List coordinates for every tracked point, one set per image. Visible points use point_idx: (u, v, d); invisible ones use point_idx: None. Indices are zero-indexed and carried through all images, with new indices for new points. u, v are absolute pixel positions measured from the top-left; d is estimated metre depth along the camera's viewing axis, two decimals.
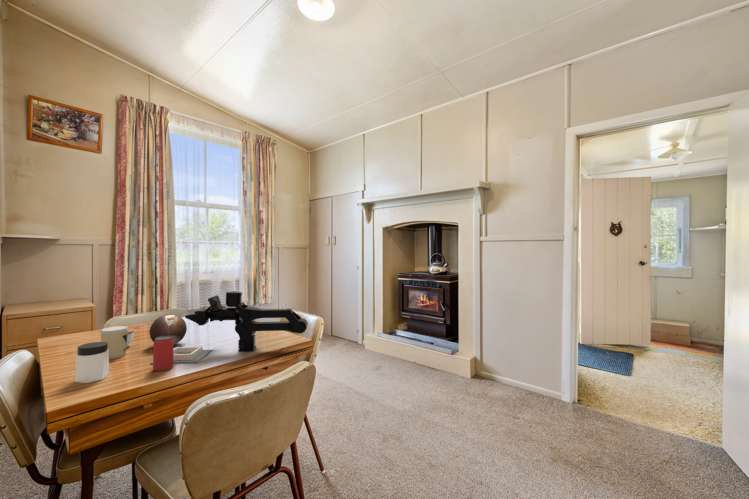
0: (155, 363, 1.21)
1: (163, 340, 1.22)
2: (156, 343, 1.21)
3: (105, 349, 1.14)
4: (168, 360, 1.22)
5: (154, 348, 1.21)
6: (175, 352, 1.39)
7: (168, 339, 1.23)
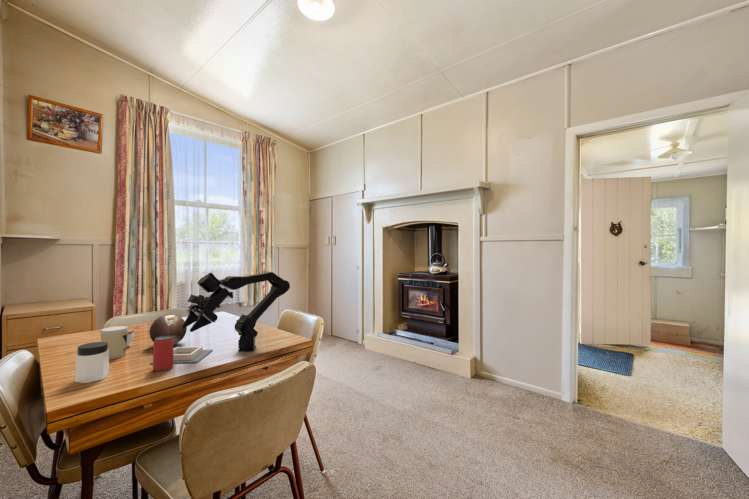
0: (155, 363, 1.21)
1: (163, 340, 1.22)
2: (156, 343, 1.21)
3: (105, 349, 1.14)
4: (168, 360, 1.22)
5: (154, 348, 1.21)
6: (175, 352, 1.39)
7: (168, 339, 1.23)
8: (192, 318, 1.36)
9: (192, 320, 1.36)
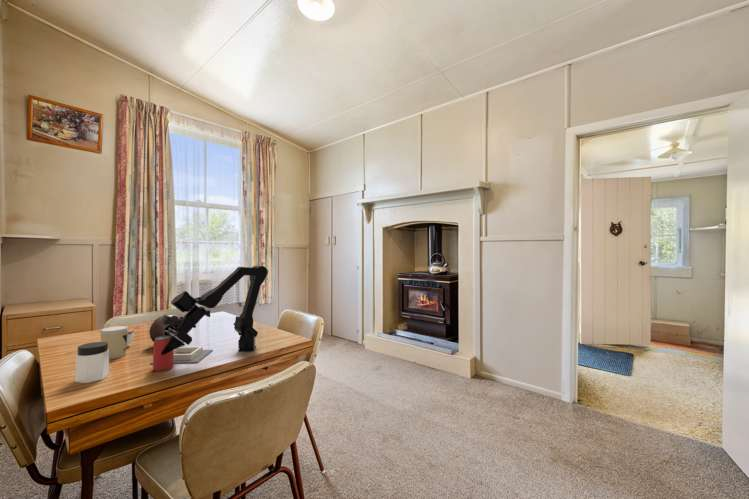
0: (155, 363, 1.21)
1: (163, 340, 1.22)
2: (156, 343, 1.21)
3: (105, 349, 1.14)
4: (168, 360, 1.22)
5: (154, 348, 1.21)
6: (175, 352, 1.39)
7: (168, 339, 1.23)
8: None
9: None
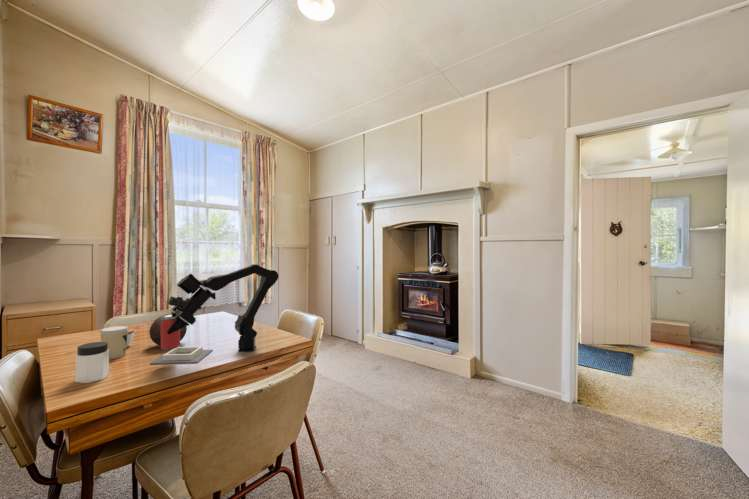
0: (162, 342, 1.26)
1: (169, 320, 1.26)
2: (162, 323, 1.26)
3: (105, 349, 1.14)
4: (174, 339, 1.27)
5: (161, 327, 1.26)
6: (175, 352, 1.39)
7: (174, 319, 1.27)
8: None
9: None
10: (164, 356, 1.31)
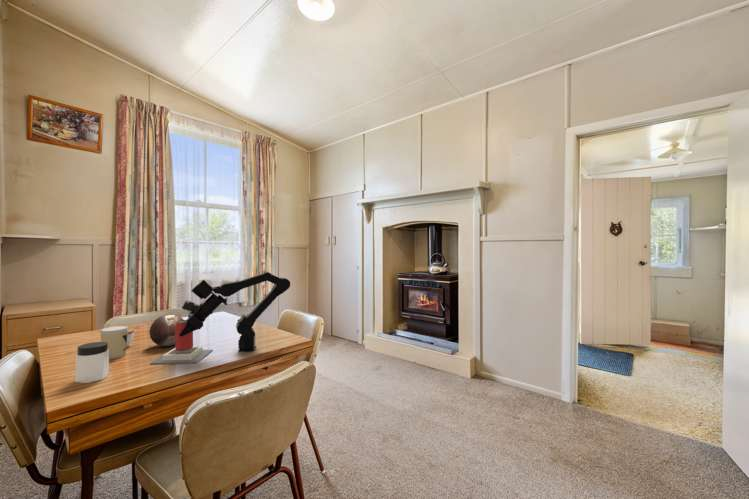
0: (175, 343, 1.34)
1: (181, 323, 1.34)
2: (176, 325, 1.34)
3: (105, 349, 1.14)
4: (186, 341, 1.35)
5: (175, 330, 1.35)
6: (175, 352, 1.39)
7: (186, 323, 1.35)
8: None
9: None
10: (164, 356, 1.31)
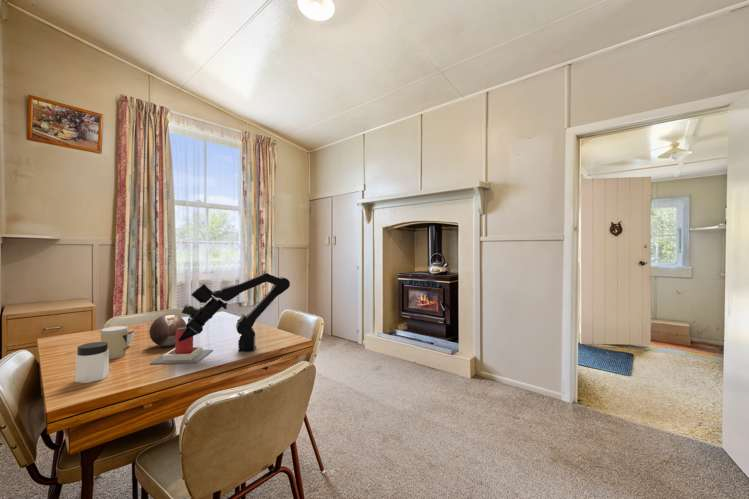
0: (175, 349, 1.34)
1: (182, 329, 1.35)
2: (177, 332, 1.35)
3: (105, 349, 1.14)
4: (186, 348, 1.35)
5: (176, 336, 1.35)
6: None
7: None
8: None
9: None
10: (164, 356, 1.31)
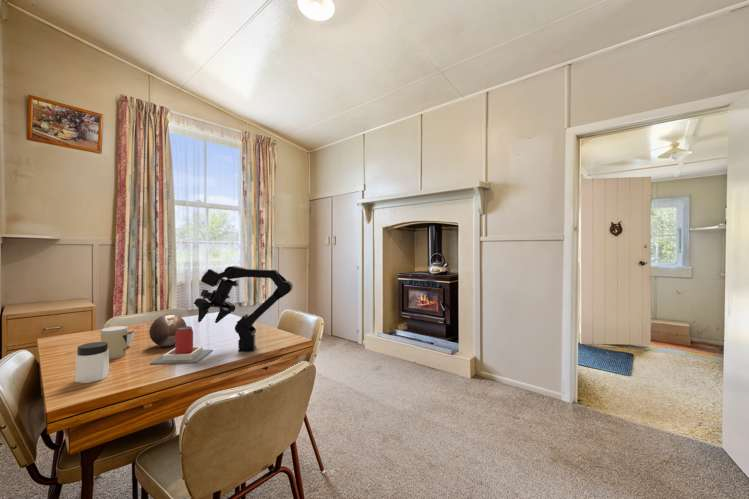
0: (175, 350, 1.34)
1: (182, 330, 1.34)
2: (176, 332, 1.34)
3: (105, 349, 1.14)
4: (186, 348, 1.35)
5: (175, 336, 1.35)
6: None
7: (186, 329, 1.35)
8: (221, 313, 1.51)
9: (221, 315, 1.50)
10: (164, 356, 1.31)
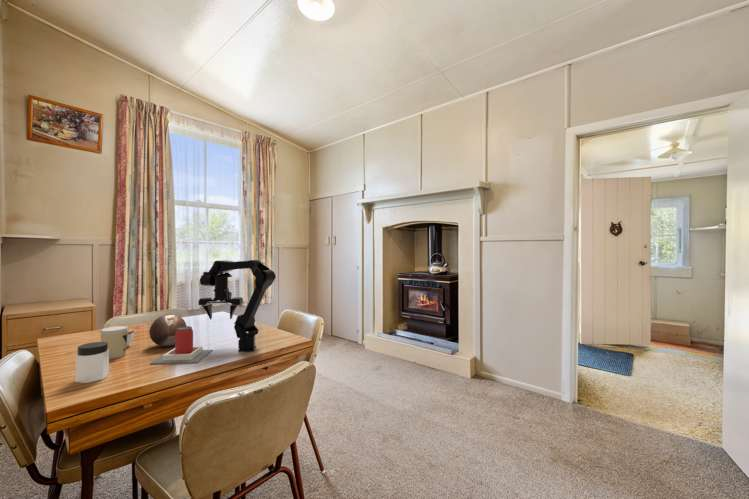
0: (175, 350, 1.34)
1: (182, 330, 1.34)
2: (176, 332, 1.34)
3: (105, 349, 1.14)
4: (186, 348, 1.35)
5: (175, 336, 1.35)
6: None
7: (186, 329, 1.35)
8: None
9: None
10: (164, 356, 1.31)
